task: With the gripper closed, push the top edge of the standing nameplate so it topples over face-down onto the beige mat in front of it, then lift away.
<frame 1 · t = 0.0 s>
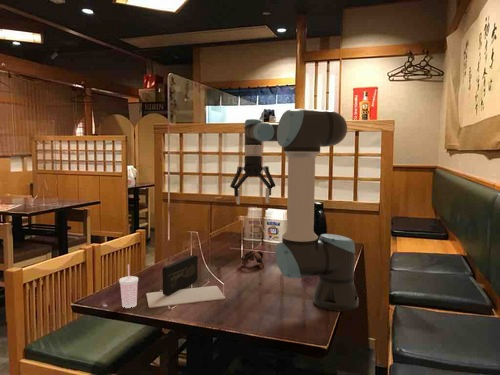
hand: (252, 203, 175), 28 cm above the table, fingers open, 13 cm apart
beige mat: (185, 296, 140), on the table
beverage cup: (129, 305, 132), on the table
pottery mug: (254, 266, 177), on the table
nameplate: (181, 287, 149), on the table, touching beige mat
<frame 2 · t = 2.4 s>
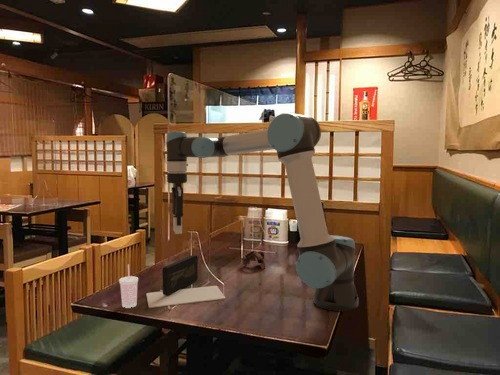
hand: (177, 232, 154), 20 cm above the table, fingers open, 4 cm apart
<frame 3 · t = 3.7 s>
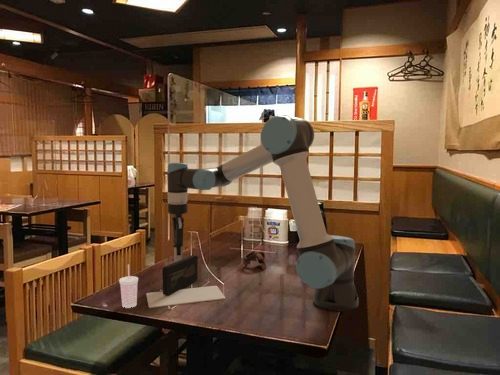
hand: (178, 262, 155), 8 cm above the table, fingers closed
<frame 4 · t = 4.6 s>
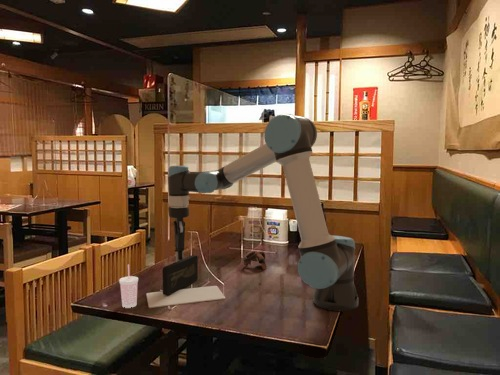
hand: (179, 267, 152), 7 cm above the table, fingers closed
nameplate: (181, 287, 149), on the table, touching beige mat, gripper
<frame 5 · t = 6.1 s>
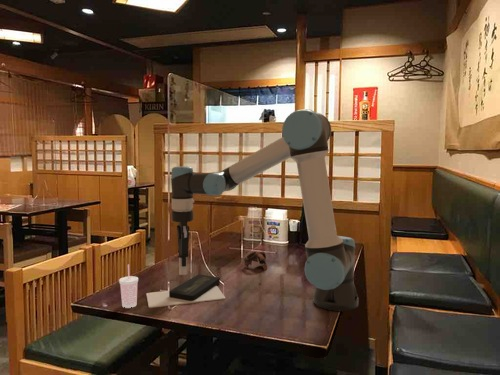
hand: (183, 274, 143), 7 cm above the table, fingers closed
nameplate: (183, 284, 148), point 1 cm above the table, touching beige mat
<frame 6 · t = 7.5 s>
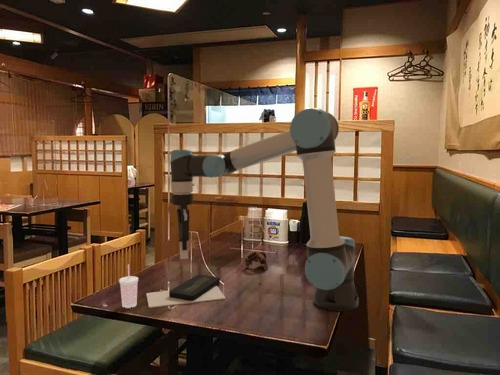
hand: (184, 258, 142), 13 cm above the table, fingers closed
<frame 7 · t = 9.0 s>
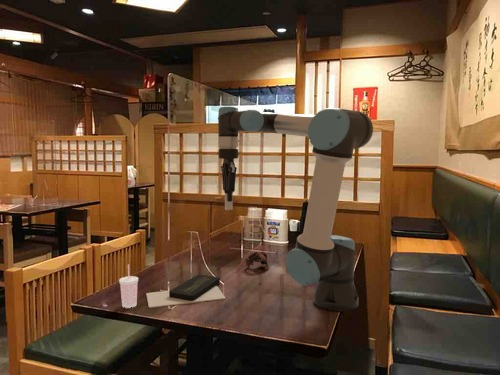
hand: (228, 209, 153), 29 cm above the table, fingers closed
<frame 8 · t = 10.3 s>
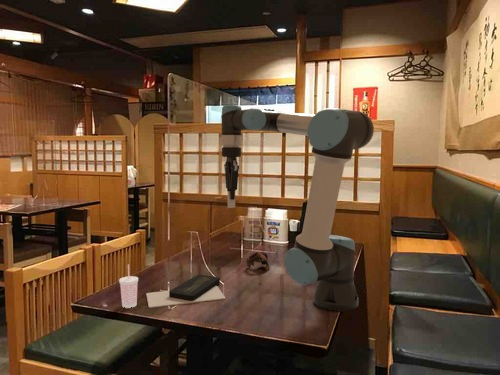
hand: (231, 207, 154), 29 cm above the table, fingers closed
at the end: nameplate tilted 90°; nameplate inside the target area (2.5 cm from its centre), point 1.4 cm above the table; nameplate touching beige mat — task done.
